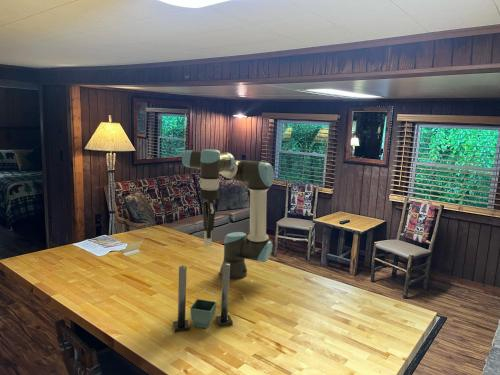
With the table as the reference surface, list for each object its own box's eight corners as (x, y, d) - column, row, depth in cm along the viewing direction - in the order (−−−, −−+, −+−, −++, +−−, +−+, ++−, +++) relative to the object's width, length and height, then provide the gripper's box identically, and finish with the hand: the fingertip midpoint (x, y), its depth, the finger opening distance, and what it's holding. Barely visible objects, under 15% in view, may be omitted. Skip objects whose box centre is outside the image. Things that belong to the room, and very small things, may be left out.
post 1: (187, 323, 162) (188, 264, 158) (189, 330, 156) (191, 269, 152) (172, 324, 160) (174, 265, 156) (174, 332, 154) (176, 270, 150)
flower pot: (209, 332, 156) (210, 311, 155) (189, 328, 158) (189, 308, 156) (216, 321, 165) (217, 301, 163) (196, 318, 166) (197, 298, 165)
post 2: (228, 318, 168) (231, 260, 164) (232, 325, 162) (235, 266, 158) (215, 319, 166) (217, 261, 162) (218, 326, 160) (221, 267, 156)
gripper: (196, 185, 159) (195, 240, 163) (203, 191, 147) (202, 251, 151) (214, 185, 161) (212, 239, 166) (222, 191, 149) (220, 249, 154)
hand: (207, 245), depth 158 cm, fingers closed
